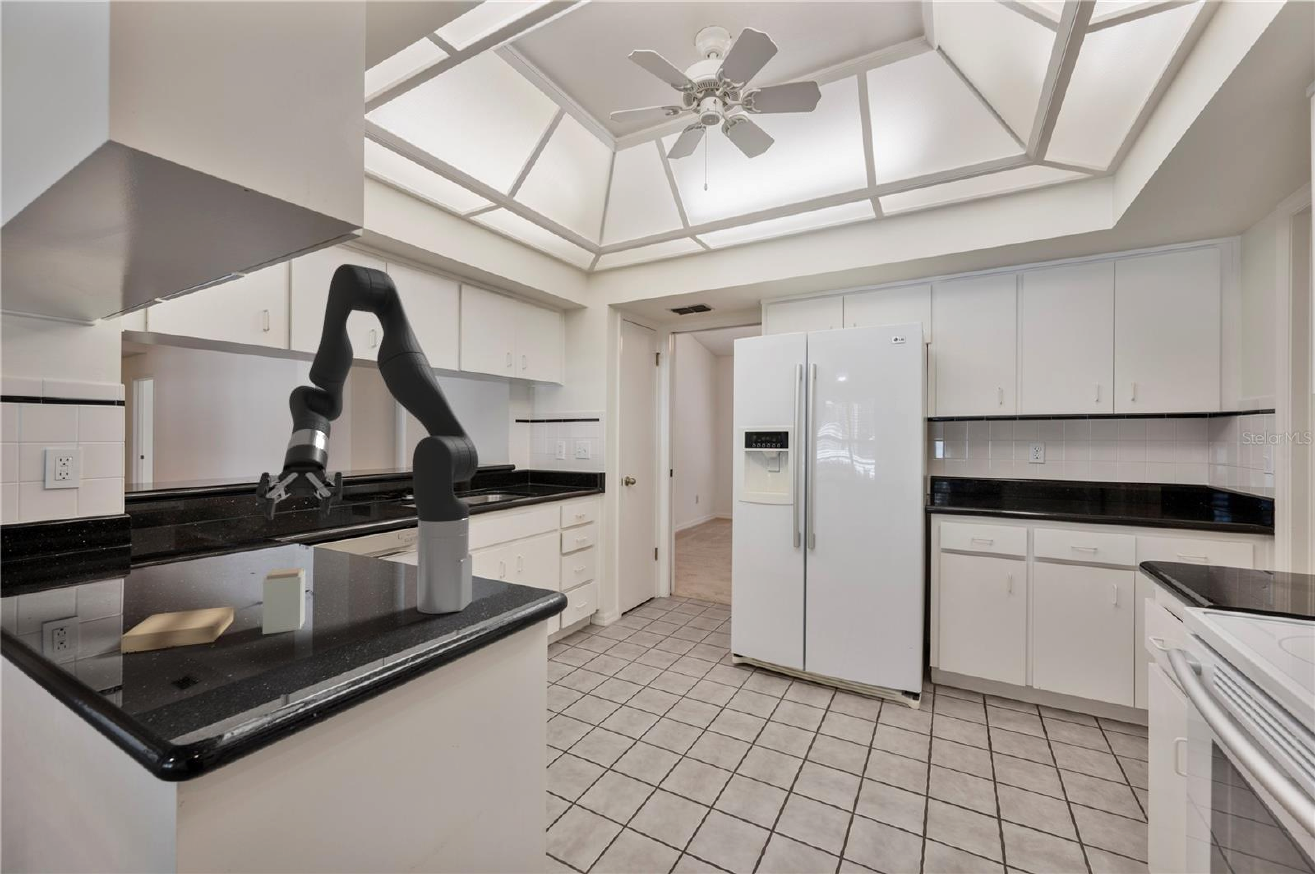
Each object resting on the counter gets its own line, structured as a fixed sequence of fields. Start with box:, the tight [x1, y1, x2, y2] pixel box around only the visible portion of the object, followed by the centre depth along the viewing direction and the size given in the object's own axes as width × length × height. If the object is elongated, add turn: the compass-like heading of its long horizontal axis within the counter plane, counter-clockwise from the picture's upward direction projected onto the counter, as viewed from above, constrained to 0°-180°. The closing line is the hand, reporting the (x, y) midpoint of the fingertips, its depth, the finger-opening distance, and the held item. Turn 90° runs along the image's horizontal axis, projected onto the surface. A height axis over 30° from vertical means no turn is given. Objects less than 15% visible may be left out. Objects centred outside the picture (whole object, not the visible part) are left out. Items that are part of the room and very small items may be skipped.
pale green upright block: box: [262, 567, 307, 635], centre depth 91 cm, size 5×5×10 cm
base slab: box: [120, 605, 235, 654], centre depth 87 cm, size 11×11×3 cm
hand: (296, 516), depth 102 cm, fingers open, 8 cm apart
